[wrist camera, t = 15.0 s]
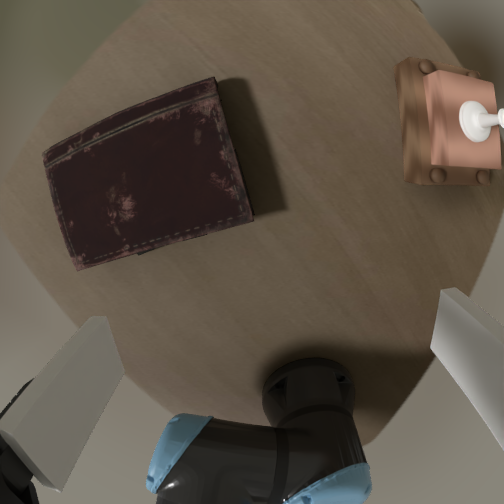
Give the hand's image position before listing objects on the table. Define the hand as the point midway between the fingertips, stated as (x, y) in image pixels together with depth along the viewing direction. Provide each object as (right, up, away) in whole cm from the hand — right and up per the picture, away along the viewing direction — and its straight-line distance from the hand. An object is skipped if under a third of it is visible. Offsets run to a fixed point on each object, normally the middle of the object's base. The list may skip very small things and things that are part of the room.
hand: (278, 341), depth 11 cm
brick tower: (+25, +21, +23) cm, 40 cm away
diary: (-15, +13, +27) cm, 34 cm away
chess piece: (+24, +18, +15) cm, 34 cm away
